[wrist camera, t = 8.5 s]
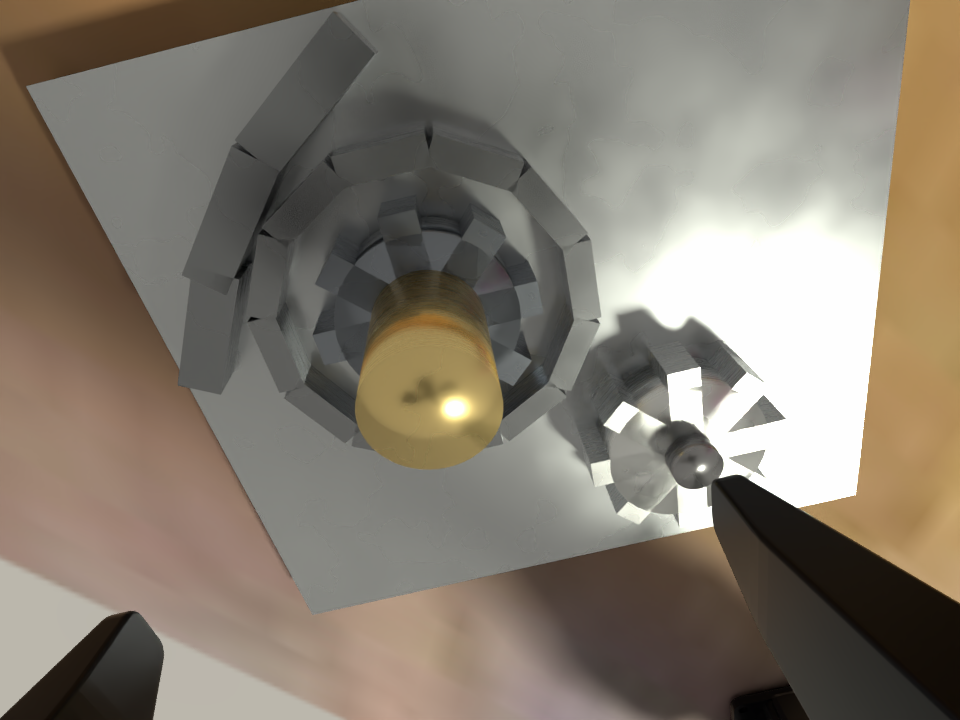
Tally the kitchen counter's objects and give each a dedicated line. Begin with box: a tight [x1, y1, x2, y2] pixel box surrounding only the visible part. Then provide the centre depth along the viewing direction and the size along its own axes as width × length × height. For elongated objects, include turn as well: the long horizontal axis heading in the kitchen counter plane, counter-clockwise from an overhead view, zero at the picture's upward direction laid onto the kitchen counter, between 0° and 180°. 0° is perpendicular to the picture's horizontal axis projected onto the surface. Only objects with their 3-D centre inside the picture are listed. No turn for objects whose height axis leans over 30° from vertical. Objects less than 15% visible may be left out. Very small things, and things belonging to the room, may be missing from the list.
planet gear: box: [312, 194, 543, 470], centre depth 16 cm, size 6×6×6 cm
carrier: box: [26, 0, 910, 615], centre depth 19 cm, size 20×22×4 cm
